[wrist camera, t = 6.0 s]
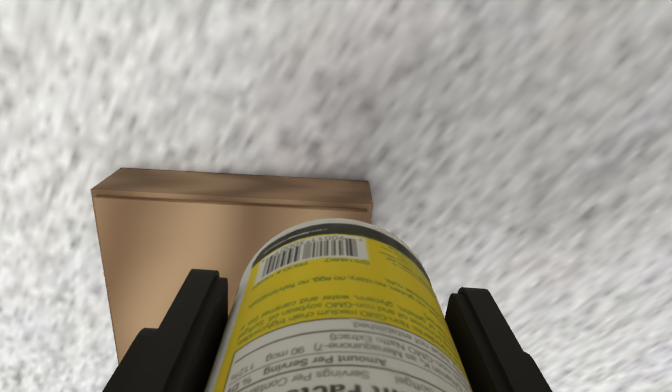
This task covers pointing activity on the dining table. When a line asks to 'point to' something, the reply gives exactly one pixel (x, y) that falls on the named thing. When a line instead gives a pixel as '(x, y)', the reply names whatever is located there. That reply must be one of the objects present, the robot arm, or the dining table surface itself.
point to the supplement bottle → (336, 318)
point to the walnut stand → (198, 231)
